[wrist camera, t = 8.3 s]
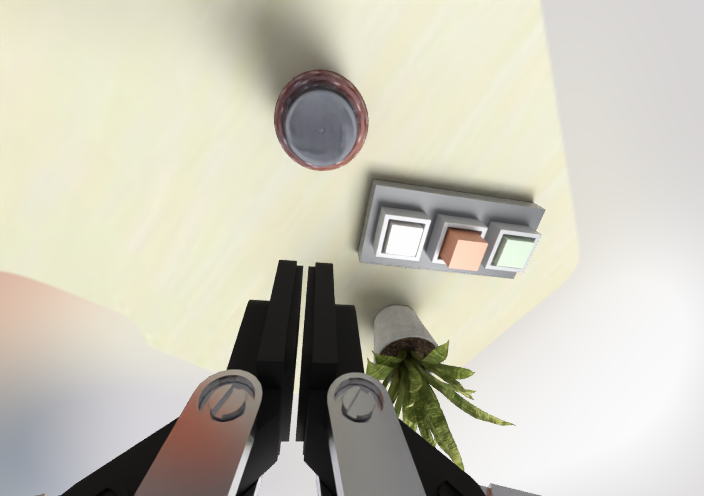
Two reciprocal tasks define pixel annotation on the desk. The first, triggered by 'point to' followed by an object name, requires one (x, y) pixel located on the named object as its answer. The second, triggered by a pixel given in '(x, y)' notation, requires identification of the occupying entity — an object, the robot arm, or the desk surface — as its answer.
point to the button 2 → (463, 249)
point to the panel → (444, 224)
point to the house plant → (419, 376)
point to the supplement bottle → (321, 120)
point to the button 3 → (513, 251)
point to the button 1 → (402, 237)
